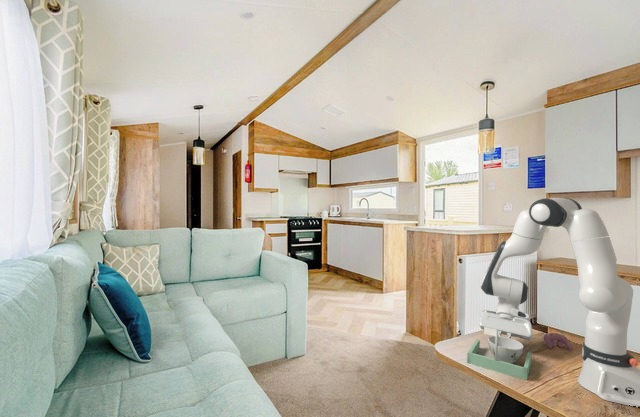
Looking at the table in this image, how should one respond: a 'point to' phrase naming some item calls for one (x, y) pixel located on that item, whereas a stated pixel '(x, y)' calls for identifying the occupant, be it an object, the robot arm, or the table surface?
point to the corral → (496, 364)
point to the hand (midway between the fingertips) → (503, 343)
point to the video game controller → (560, 340)
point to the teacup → (506, 349)
